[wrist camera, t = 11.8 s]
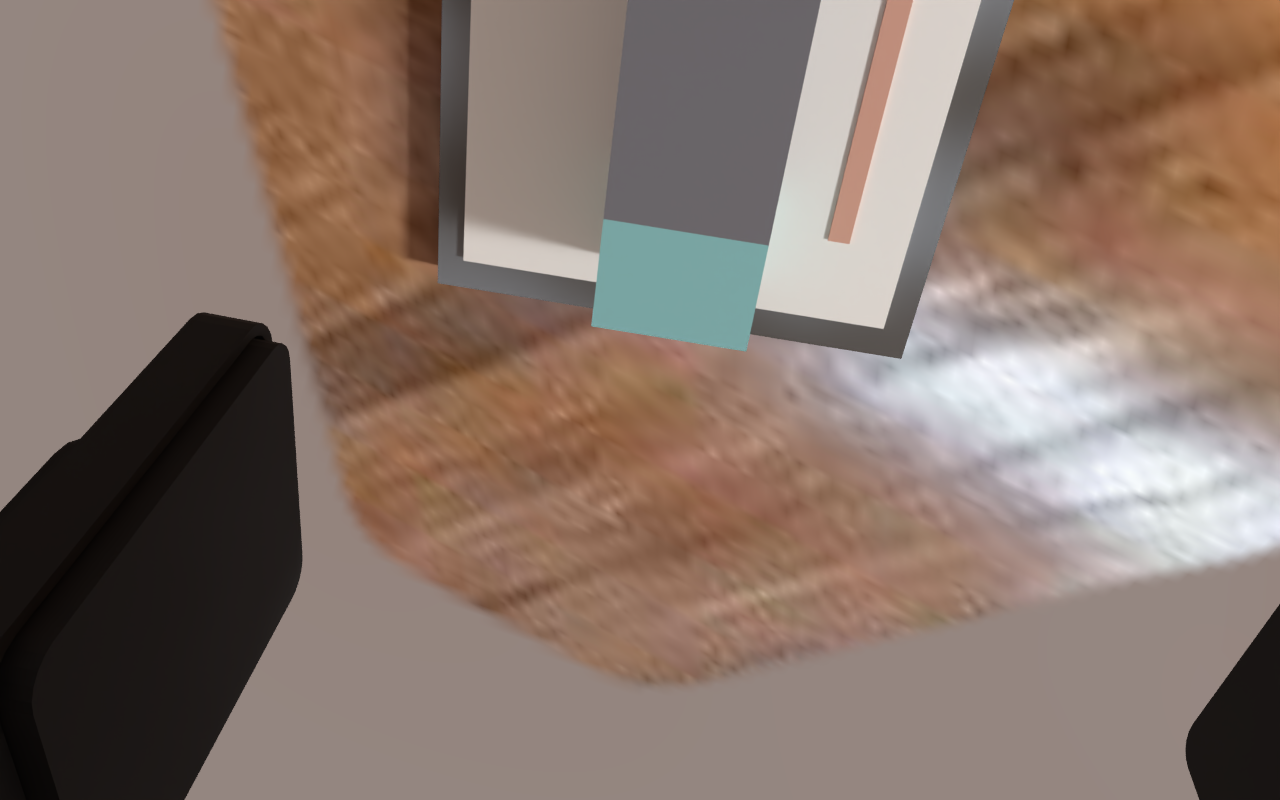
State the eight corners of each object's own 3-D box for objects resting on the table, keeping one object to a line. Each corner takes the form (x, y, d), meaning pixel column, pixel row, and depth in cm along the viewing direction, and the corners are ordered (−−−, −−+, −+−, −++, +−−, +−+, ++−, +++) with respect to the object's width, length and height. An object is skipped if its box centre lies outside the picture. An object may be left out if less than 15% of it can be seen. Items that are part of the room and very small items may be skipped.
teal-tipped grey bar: (685, -358, 22) (669, -366, 19) (875, -330, 22) (892, -334, 19) (612, 256, 30) (591, 326, 27) (750, 279, 30) (746, 351, 27)
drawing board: (460, -431, 23) (444, -437, 22) (1106, -335, 22) (1122, -336, 21) (446, 268, 32) (435, 287, 31) (898, 341, 32) (902, 364, 31)
